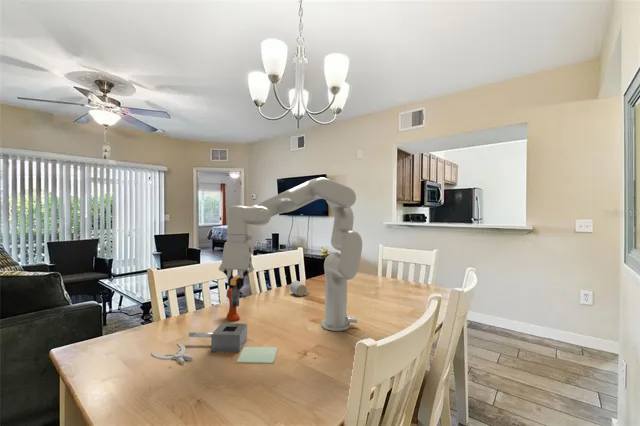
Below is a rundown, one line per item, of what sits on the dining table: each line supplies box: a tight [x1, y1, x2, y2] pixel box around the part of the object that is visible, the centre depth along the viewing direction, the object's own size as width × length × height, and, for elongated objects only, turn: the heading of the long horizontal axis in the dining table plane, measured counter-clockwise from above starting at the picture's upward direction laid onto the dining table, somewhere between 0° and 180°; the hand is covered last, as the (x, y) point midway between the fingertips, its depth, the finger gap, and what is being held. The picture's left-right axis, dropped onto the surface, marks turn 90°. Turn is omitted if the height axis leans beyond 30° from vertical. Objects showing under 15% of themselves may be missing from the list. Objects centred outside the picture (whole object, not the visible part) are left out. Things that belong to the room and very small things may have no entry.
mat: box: [236, 346, 279, 365], centre depth 99 cm, size 12×10×1 cm
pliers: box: [151, 342, 193, 365], centre depth 98 cm, size 10×2×15 cm
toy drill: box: [226, 288, 247, 322], centre depth 127 cm, size 5×19×15 cm, turn 38°
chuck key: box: [230, 274, 241, 308], centre depth 107 cm, size 3×7×10 cm, turn 0°
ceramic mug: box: [289, 280, 310, 297], centre depth 170 cm, size 11×8×8 cm
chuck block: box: [188, 322, 248, 353], centre depth 106 cm, size 20×10×6 cm, turn 90°
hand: (235, 287), depth 107 cm, fingers closed on chuck key, 2 cm apart
